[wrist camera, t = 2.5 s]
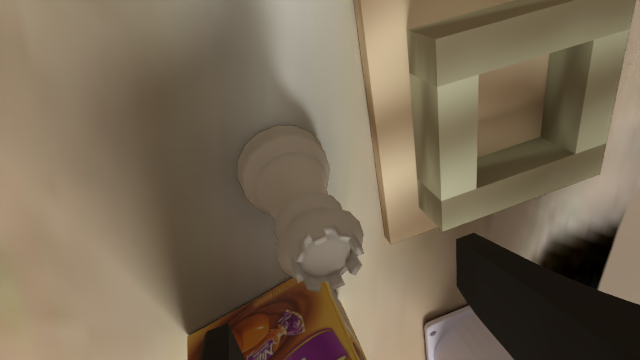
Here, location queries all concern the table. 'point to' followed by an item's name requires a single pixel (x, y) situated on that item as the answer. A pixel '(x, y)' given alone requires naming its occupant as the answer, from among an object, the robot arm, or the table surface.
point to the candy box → (289, 326)
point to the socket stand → (486, 102)
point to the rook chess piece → (301, 206)
